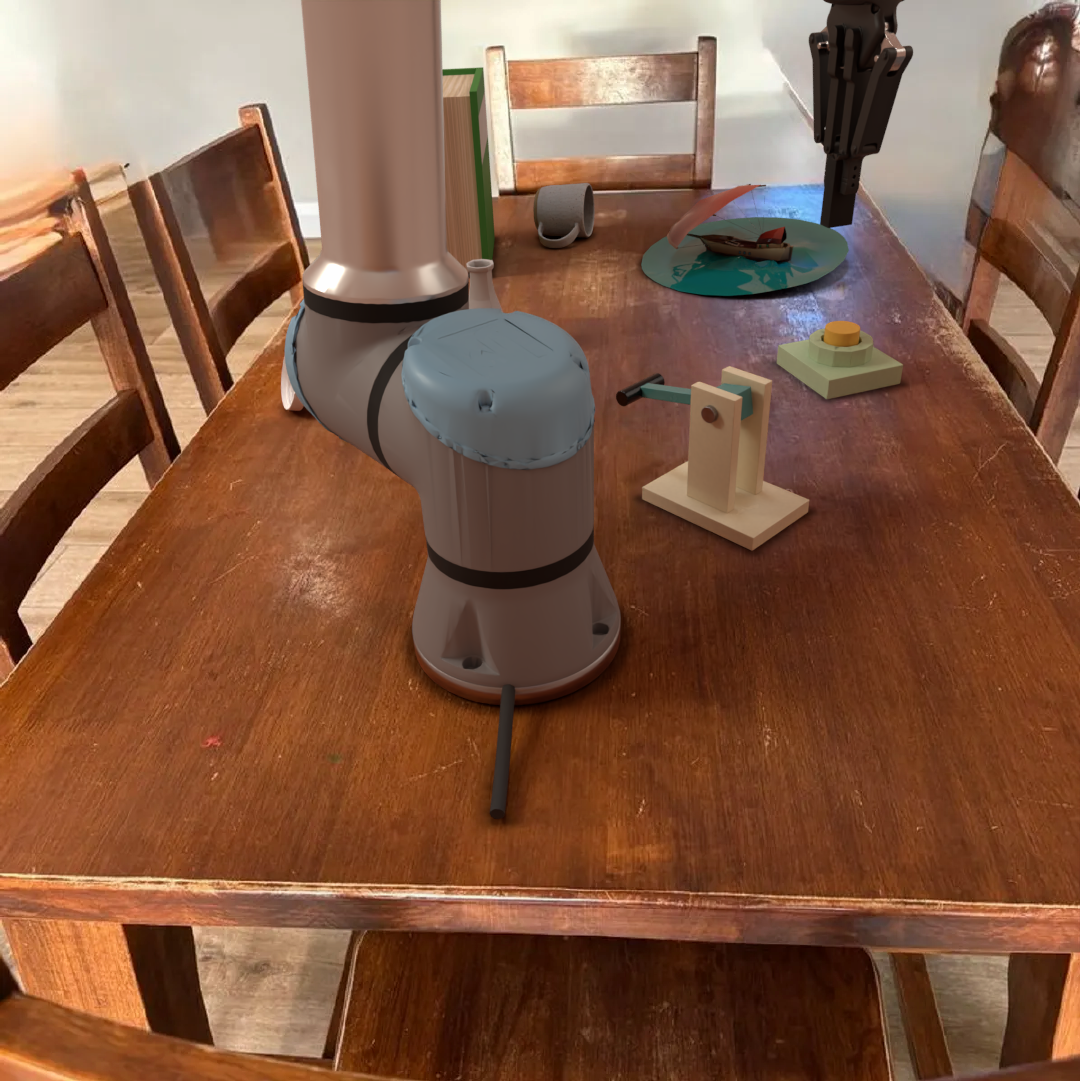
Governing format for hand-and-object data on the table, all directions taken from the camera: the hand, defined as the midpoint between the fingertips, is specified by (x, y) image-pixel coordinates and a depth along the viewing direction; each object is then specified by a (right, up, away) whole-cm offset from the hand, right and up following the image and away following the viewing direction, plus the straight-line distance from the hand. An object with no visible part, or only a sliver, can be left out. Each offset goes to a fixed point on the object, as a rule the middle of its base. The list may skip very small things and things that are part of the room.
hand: (835, 224), depth 100 cm
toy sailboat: (-1, +7, +40) cm, 41 cm away
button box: (+3, -13, +9) cm, 16 cm away
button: (+3, -10, +7) cm, 13 cm away
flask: (-36, -8, +20) cm, 42 cm away
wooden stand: (-13, -28, -12) cm, 34 cm away
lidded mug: (-51, -17, +9) cm, 54 cm away
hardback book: (-40, +10, +47) cm, 63 cm away
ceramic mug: (-26, +14, +53) cm, 60 cm away
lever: (-17, -20, -14) cm, 30 cm away
